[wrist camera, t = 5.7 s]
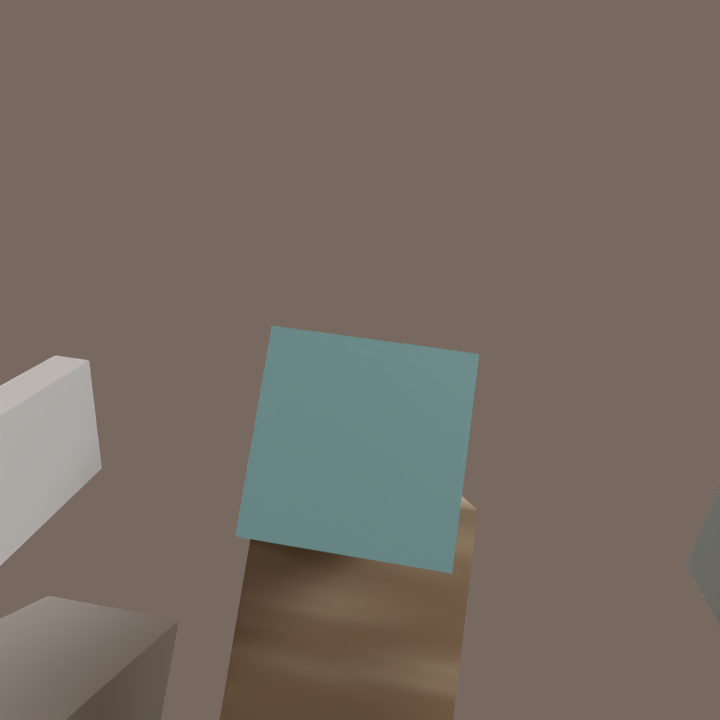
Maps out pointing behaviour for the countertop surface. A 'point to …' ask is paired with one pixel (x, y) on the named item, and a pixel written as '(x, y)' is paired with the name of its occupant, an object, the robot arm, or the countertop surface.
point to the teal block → (360, 448)
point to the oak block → (347, 635)
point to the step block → (83, 662)
